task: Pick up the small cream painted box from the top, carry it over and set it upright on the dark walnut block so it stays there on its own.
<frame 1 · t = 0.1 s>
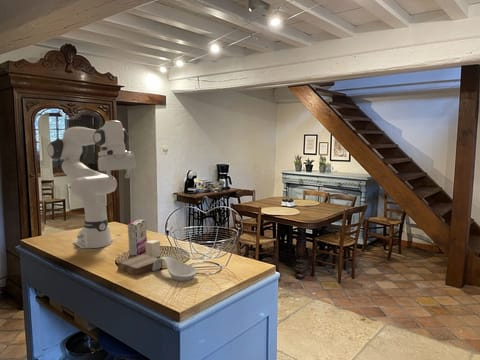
hand: (119, 178, 184), 39 cm above the countertop, tool pointing down, fingers open, 8 cm apart
spoon rest: (173, 276, 156), on the countertop
candy bar box: (138, 252, 188), on the countertop
walnut block: (140, 269, 165), on the countertop
cream box: (153, 256, 181), on the countertop
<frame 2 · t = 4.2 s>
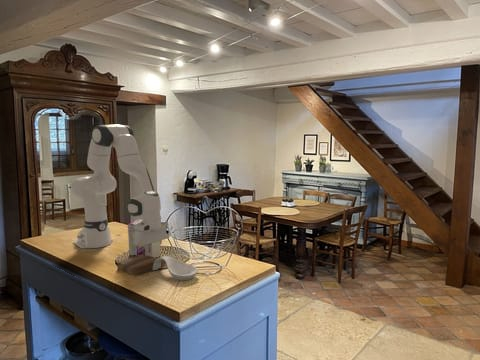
hand: (152, 250, 181), 3 cm above the countertop, tool pointing down, fingers closed on cream box, 5 cm apart
cream box: (153, 256, 181), on the countertop, touching gripper
when the fingers open (9 cm above the countertop, at t = 11.3 s): cream box drops 2 cm, resting on walnut block.
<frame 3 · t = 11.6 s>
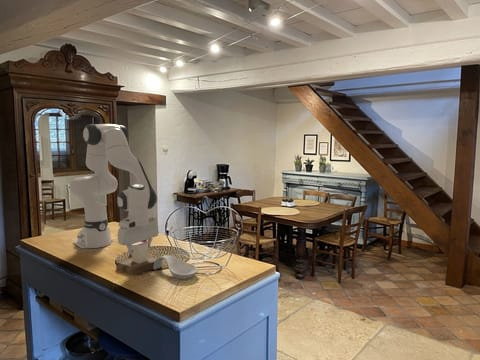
hand: (139, 250, 164), 9 cm above the countertop, tool pointing down, fingers open, 8 cm apart
spoon rest: (174, 274, 158), on the countertop
walnut block: (139, 269, 166), on the countertop, touching cream box
cream box: (140, 260, 165), point 3 cm above the countertop, touching walnut block
everything else where it was.
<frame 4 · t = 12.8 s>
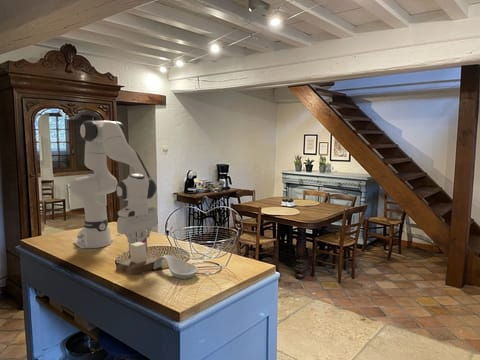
hand: (138, 239, 164), 13 cm above the countertop, tool pointing down, fingers open, 8 cm apart
nothing on the countertop moved.
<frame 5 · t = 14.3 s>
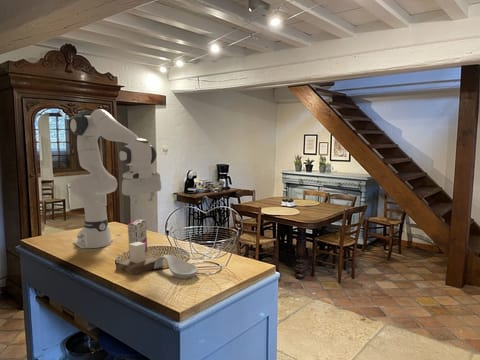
hand: (142, 202, 170), 29 cm above the countertop, tool pointing down, fingers open, 8 cm apart
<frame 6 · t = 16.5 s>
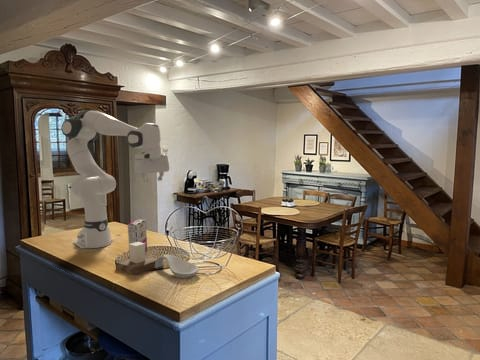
hand: (152, 181, 187), 37 cm above the countertop, tool pointing down, fingers open, 8 cm apart
at the end: cream box inside the target area on the walnut block (0.2 cm from its centre), point 4.0 cm above the walnut block's base; cream box tilted 1°; the gripper is holding nothing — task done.
